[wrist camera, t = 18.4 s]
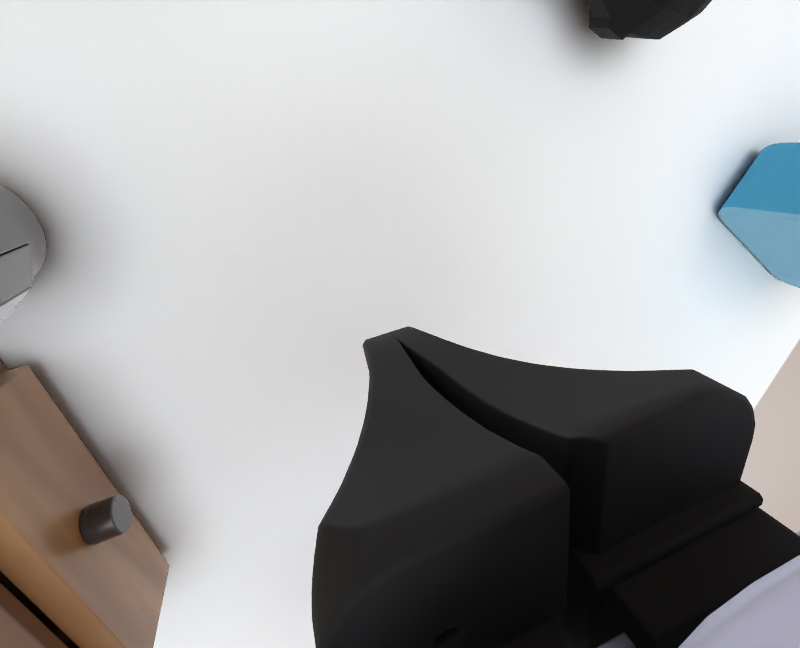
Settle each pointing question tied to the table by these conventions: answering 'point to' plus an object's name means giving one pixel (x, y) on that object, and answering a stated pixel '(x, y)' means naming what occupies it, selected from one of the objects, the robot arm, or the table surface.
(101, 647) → the drawer
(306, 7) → the table surface
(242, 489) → the table surface
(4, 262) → the dark grey hollow cylinder
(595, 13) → the microphone
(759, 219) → the data package
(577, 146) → the table surface
